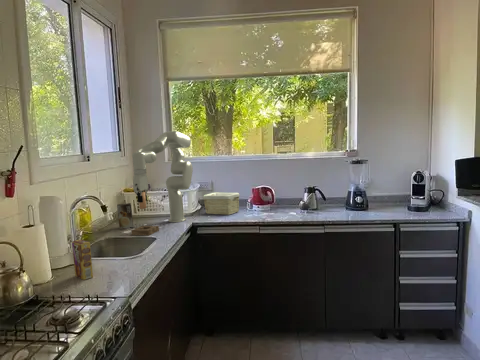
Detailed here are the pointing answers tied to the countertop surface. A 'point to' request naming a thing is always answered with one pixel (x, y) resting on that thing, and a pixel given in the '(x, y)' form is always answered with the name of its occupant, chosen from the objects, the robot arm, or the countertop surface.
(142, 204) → the peg
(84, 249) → the candy box
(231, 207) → the storage basket
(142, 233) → the hole block
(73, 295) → the countertop surface
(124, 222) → the coffee box
